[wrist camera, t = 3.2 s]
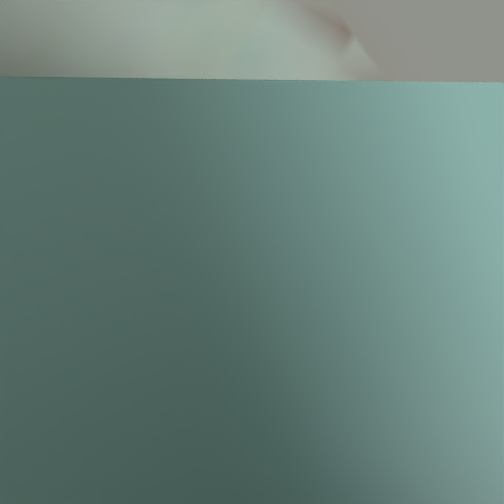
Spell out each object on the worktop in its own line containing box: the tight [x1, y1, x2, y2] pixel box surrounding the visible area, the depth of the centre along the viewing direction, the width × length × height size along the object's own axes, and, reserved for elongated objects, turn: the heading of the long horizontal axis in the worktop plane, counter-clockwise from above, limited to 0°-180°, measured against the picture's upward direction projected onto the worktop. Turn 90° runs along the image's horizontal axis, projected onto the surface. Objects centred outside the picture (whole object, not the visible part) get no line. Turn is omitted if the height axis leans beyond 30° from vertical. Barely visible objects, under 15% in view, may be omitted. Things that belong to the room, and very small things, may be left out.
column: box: [0, 77, 504, 504], centre depth 9 cm, size 5×5×13 cm
